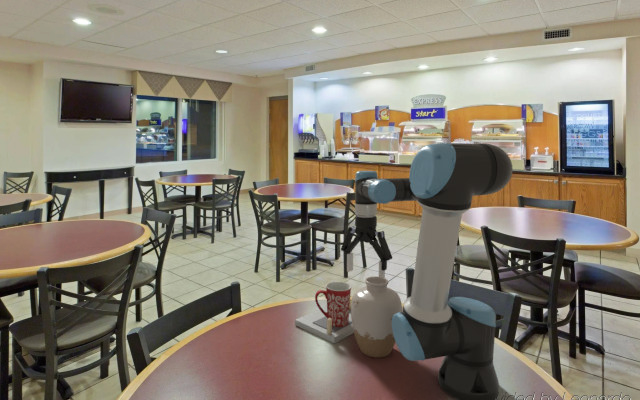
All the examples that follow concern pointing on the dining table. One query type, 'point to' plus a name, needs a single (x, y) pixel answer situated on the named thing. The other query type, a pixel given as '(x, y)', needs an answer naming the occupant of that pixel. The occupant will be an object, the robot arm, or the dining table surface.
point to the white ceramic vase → (375, 317)
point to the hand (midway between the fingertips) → (365, 274)
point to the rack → (324, 326)
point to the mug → (336, 302)
